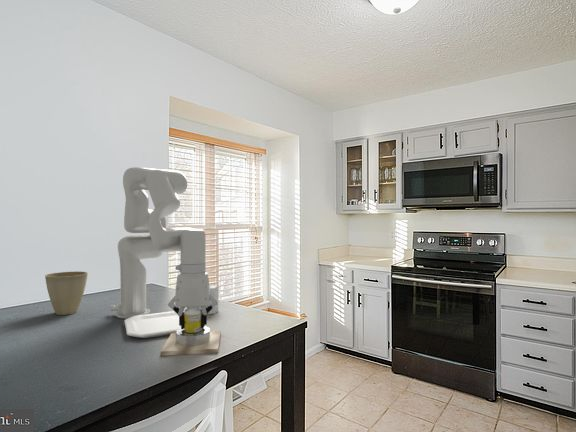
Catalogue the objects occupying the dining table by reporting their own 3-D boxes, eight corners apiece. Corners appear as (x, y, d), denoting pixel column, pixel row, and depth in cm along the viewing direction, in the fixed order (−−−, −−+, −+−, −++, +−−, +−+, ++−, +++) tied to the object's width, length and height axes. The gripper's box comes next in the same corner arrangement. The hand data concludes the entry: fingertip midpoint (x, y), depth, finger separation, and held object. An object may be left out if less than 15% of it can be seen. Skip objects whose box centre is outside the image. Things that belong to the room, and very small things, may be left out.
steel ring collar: (173, 347, 104) (173, 336, 104) (179, 335, 114) (179, 326, 114) (208, 345, 106) (208, 335, 106) (211, 334, 116) (211, 325, 116)
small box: (218, 310, 149) (218, 285, 149) (214, 314, 144) (214, 288, 144) (200, 310, 150) (200, 285, 150) (195, 313, 144) (195, 287, 144)
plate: (127, 343, 111) (127, 336, 111) (123, 322, 133) (123, 316, 133) (206, 331, 123) (206, 325, 123) (190, 314, 145) (190, 308, 145)
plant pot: (84, 315, 142) (84, 275, 142) (40, 319, 136) (40, 277, 136) (90, 306, 156) (90, 270, 156) (50, 309, 150) (50, 272, 150)
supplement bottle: (185, 330, 113) (186, 299, 113) (203, 330, 113) (203, 299, 113) (182, 336, 107) (182, 304, 107) (200, 336, 108) (200, 303, 108)
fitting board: (160, 355, 101) (160, 351, 101) (171, 336, 117) (171, 333, 117) (218, 352, 103) (218, 348, 103) (220, 334, 119) (220, 330, 119)
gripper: (161, 271, 105) (161, 332, 105) (220, 270, 108) (220, 330, 108) (166, 267, 113) (166, 325, 113) (221, 266, 115) (221, 322, 115)
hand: (193, 326), depth 110 cm, fingers closed on supplement bottle, 5 cm apart
